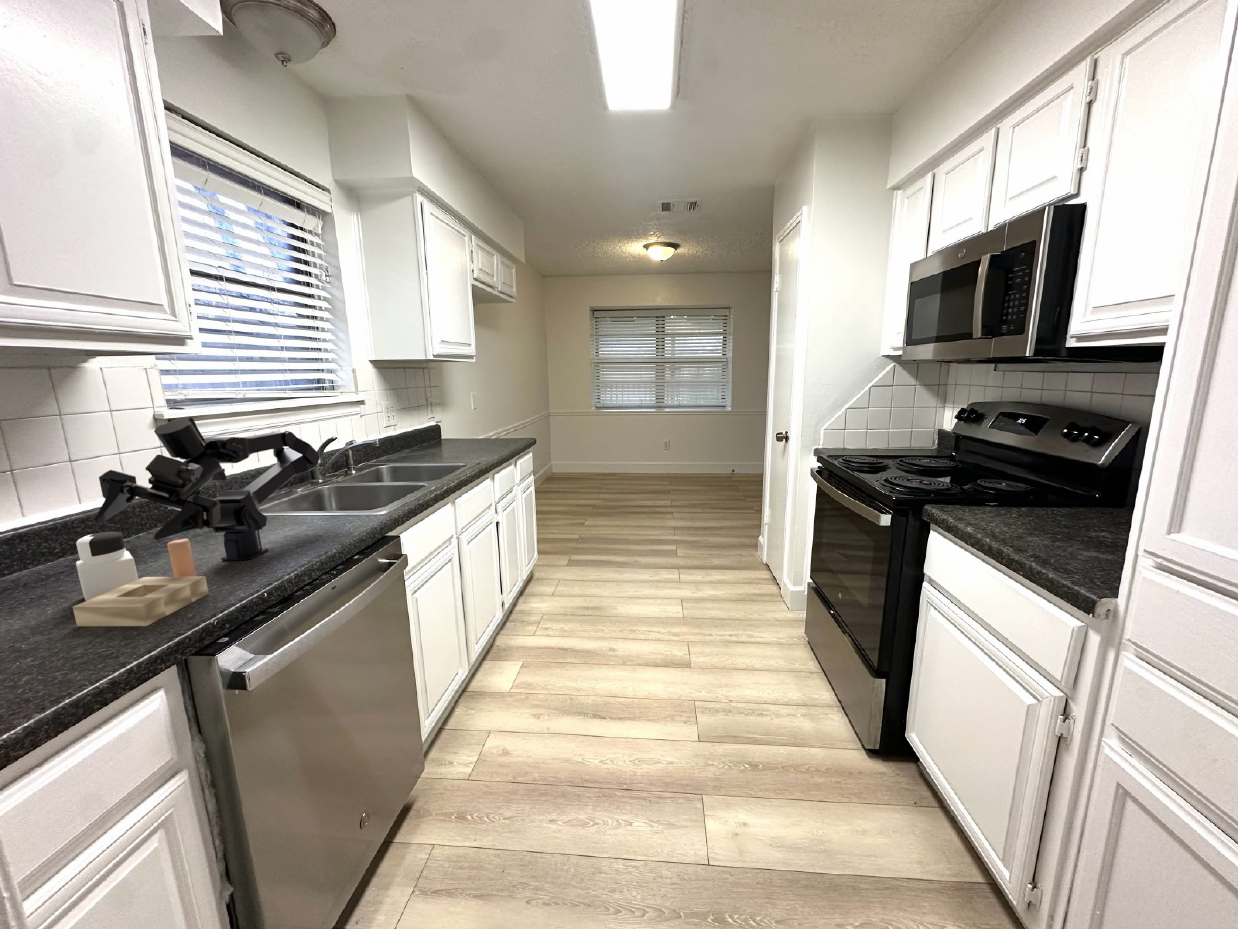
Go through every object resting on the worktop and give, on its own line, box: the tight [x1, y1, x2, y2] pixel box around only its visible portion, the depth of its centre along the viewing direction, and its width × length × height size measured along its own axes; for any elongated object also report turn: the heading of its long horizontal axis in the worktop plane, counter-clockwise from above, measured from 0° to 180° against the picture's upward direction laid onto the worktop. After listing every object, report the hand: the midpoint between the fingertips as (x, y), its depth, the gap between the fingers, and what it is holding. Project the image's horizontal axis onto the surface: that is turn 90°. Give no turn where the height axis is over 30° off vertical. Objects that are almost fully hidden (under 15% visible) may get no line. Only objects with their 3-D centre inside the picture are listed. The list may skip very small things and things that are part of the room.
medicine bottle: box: [75, 531, 139, 601], centre depth 93 cm, size 7×7×12 cm
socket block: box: [72, 575, 209, 627], centre depth 87 cm, size 12×12×4 cm
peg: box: [167, 538, 197, 577], centre depth 97 cm, size 3×3×9 cm
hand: (125, 530), depth 87 cm, fingers open, 9 cm apart
